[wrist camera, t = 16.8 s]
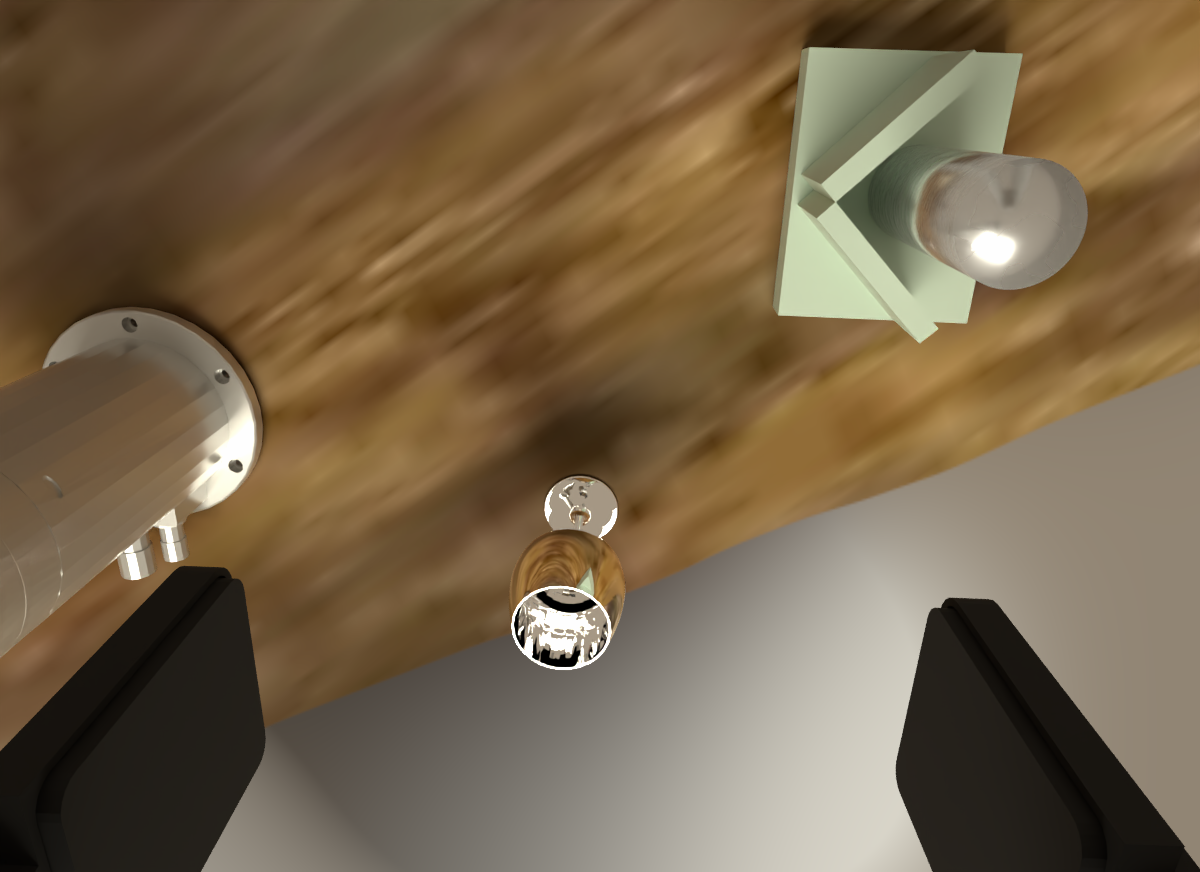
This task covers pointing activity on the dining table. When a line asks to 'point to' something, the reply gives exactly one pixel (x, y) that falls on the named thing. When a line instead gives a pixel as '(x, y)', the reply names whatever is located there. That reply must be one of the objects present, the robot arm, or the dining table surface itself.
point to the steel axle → (981, 211)
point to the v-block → (848, 163)
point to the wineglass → (569, 579)
